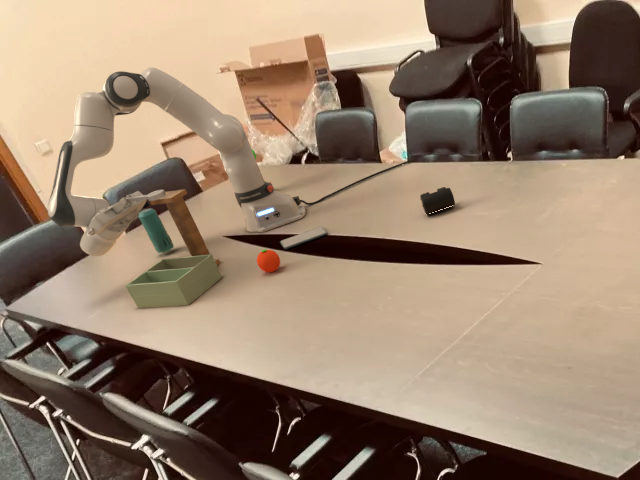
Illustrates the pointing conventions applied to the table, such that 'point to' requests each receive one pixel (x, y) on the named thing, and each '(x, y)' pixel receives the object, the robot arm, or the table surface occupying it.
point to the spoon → (149, 196)
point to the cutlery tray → (174, 281)
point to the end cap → (437, 200)
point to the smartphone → (303, 237)
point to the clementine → (268, 260)
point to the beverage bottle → (155, 229)
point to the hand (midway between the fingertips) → (128, 197)
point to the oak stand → (184, 222)
